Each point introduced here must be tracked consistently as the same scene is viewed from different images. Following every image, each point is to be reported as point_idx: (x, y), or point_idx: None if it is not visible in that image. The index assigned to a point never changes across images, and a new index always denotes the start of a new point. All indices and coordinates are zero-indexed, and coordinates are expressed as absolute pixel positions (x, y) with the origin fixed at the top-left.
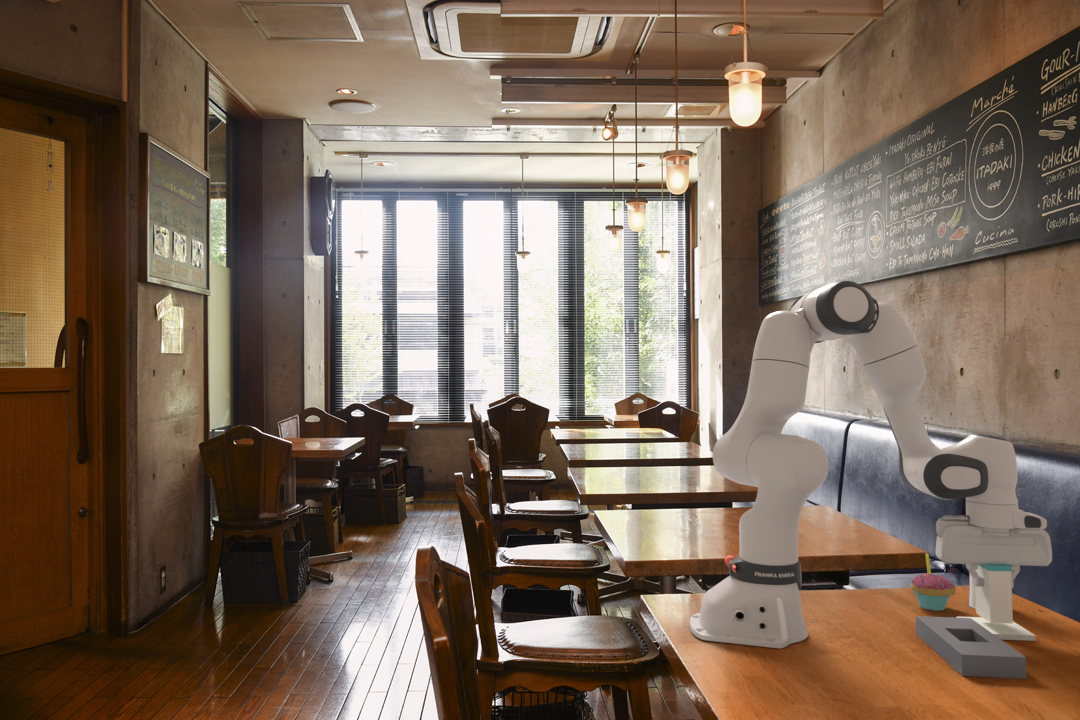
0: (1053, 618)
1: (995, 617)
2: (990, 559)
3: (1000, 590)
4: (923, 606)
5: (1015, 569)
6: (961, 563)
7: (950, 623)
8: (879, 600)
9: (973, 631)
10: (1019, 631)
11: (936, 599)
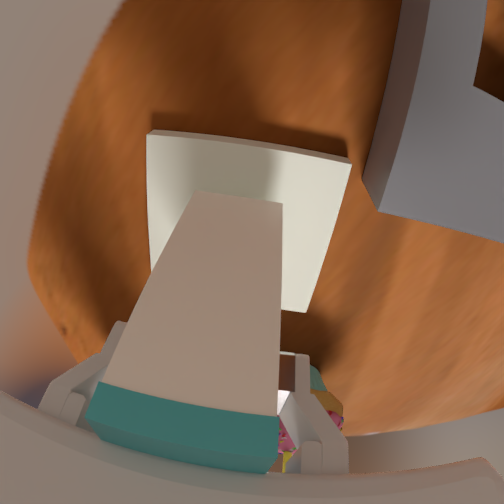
0: (49, 293)
1: (260, 211)
2: (222, 501)
3: (213, 290)
4: (320, 376)
5: (67, 396)
6: (414, 469)
7: (497, 164)
8: (373, 403)
9: (472, 73)
10: (179, 176)
11: None
